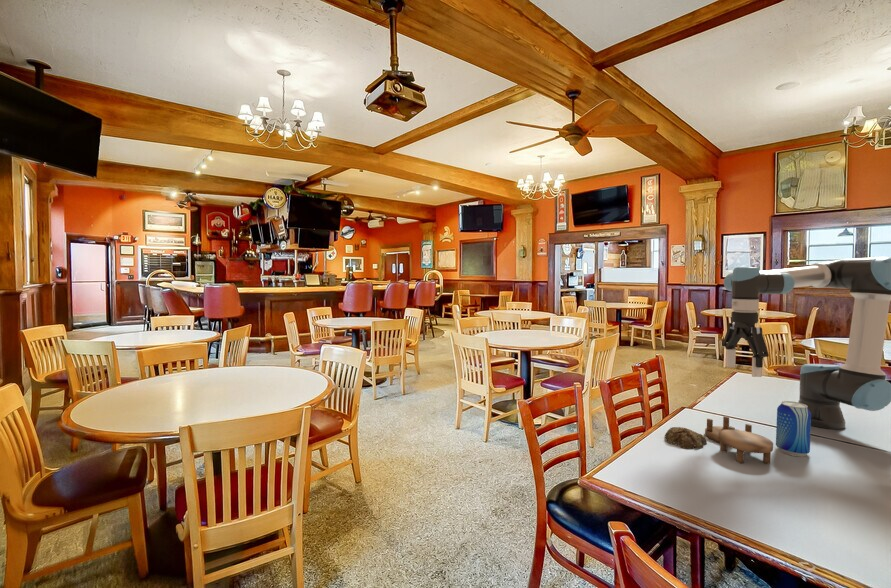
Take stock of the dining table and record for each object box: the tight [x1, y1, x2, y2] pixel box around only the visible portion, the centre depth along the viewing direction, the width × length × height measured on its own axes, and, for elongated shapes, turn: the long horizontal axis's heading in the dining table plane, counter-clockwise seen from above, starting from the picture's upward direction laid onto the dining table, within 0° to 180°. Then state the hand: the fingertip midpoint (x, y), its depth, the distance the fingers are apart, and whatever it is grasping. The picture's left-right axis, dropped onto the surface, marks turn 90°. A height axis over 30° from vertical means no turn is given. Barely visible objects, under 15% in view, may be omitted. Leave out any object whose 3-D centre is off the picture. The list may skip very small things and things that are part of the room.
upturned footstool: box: [704, 415, 753, 444], centre depth 141 cm, size 14×14×6 cm
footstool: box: [718, 429, 774, 465], centre depth 128 cm, size 14×14×6 cm
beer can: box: [775, 400, 812, 458], centre depth 130 cm, size 8×8×16 cm
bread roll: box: [664, 426, 708, 450], centre depth 139 cm, size 13×12×5 cm
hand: (743, 371), depth 139 cm, fingers open, 13 cm apart
